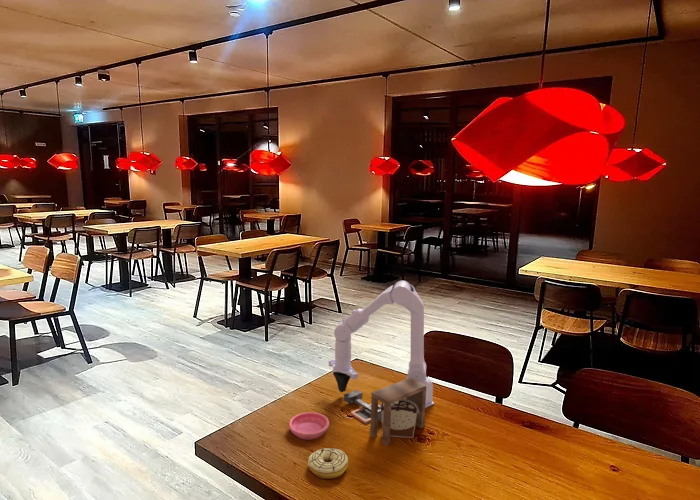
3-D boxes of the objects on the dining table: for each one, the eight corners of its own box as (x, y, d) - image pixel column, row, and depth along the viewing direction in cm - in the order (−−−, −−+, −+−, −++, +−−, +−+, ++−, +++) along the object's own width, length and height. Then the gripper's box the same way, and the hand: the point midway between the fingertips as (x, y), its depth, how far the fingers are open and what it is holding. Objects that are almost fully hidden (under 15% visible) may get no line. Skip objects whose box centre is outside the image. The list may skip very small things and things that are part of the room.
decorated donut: (320, 452, 127) (320, 440, 127) (353, 463, 123) (354, 451, 122) (301, 473, 118) (301, 461, 118) (336, 486, 114) (337, 473, 113)
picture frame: (374, 404, 155) (374, 402, 155) (389, 413, 149) (389, 411, 149) (350, 414, 148) (350, 411, 148) (365, 424, 142) (365, 421, 142)
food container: (417, 427, 141) (418, 398, 140) (418, 438, 135) (419, 408, 134) (378, 424, 142) (379, 395, 141) (377, 435, 136) (378, 405, 135)
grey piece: (358, 395, 159) (359, 386, 159) (392, 415, 146) (392, 405, 146) (341, 402, 154) (341, 392, 154) (374, 423, 141) (374, 413, 141)
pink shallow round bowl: (295, 446, 130) (295, 437, 129) (284, 425, 141) (284, 416, 141) (335, 437, 135) (335, 428, 134) (320, 417, 146) (321, 408, 146)
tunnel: (408, 417, 147) (410, 377, 145) (424, 427, 142) (426, 385, 139) (370, 435, 136) (371, 392, 134) (385, 446, 131) (387, 401, 129)
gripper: (322, 351, 161) (321, 386, 163) (347, 364, 150) (346, 402, 152) (337, 347, 165) (336, 381, 167) (362, 359, 154) (361, 396, 156)
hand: (342, 390), depth 160 cm, fingers closed
